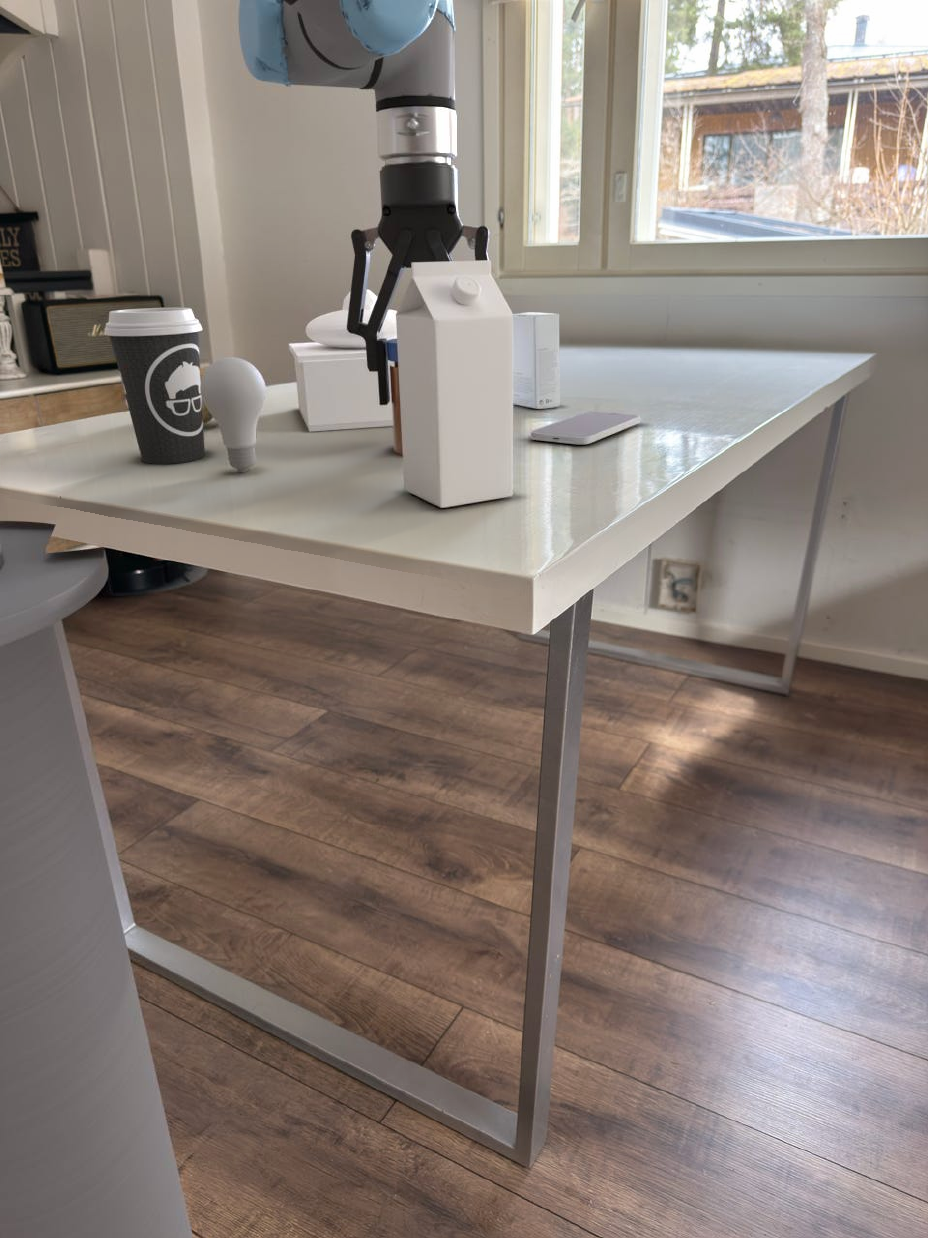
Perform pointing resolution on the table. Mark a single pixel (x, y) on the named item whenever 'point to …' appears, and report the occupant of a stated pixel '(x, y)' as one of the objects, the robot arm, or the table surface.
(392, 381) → the jar
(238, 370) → the lightbulb
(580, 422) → the smartphone
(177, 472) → the table surface
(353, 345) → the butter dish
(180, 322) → the coffee cup
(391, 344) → the jar lid
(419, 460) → the milk carton
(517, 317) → the cosmetic box
